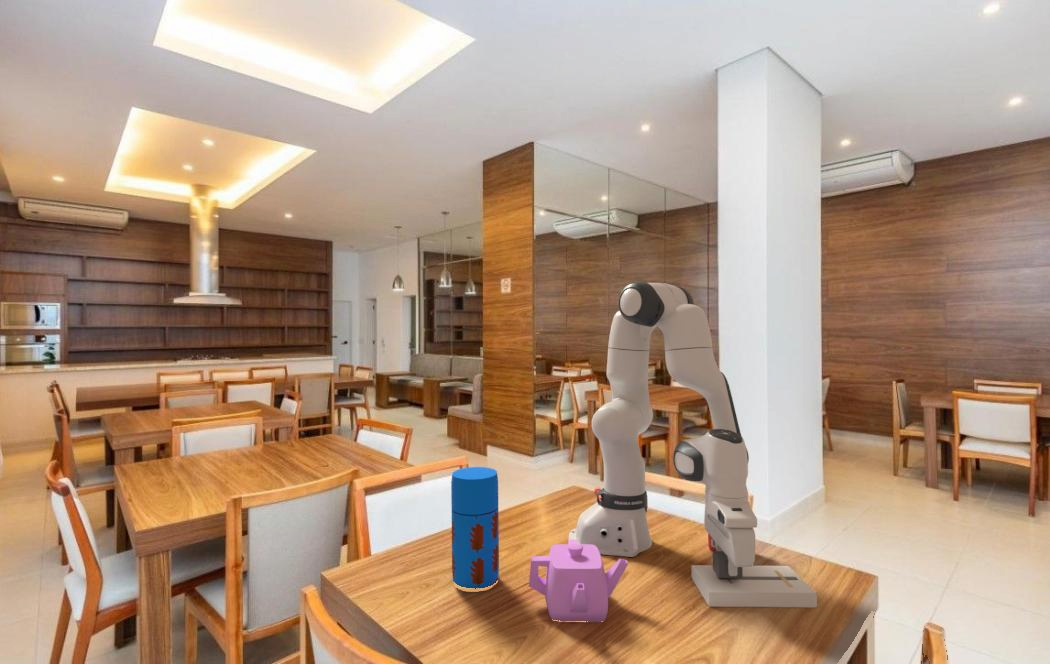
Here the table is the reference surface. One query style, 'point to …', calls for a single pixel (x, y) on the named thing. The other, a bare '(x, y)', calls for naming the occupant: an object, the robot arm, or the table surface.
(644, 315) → the robot arm
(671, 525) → the table surface
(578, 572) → the teakettle
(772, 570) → the slider panel
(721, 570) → the block
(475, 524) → the thermos
